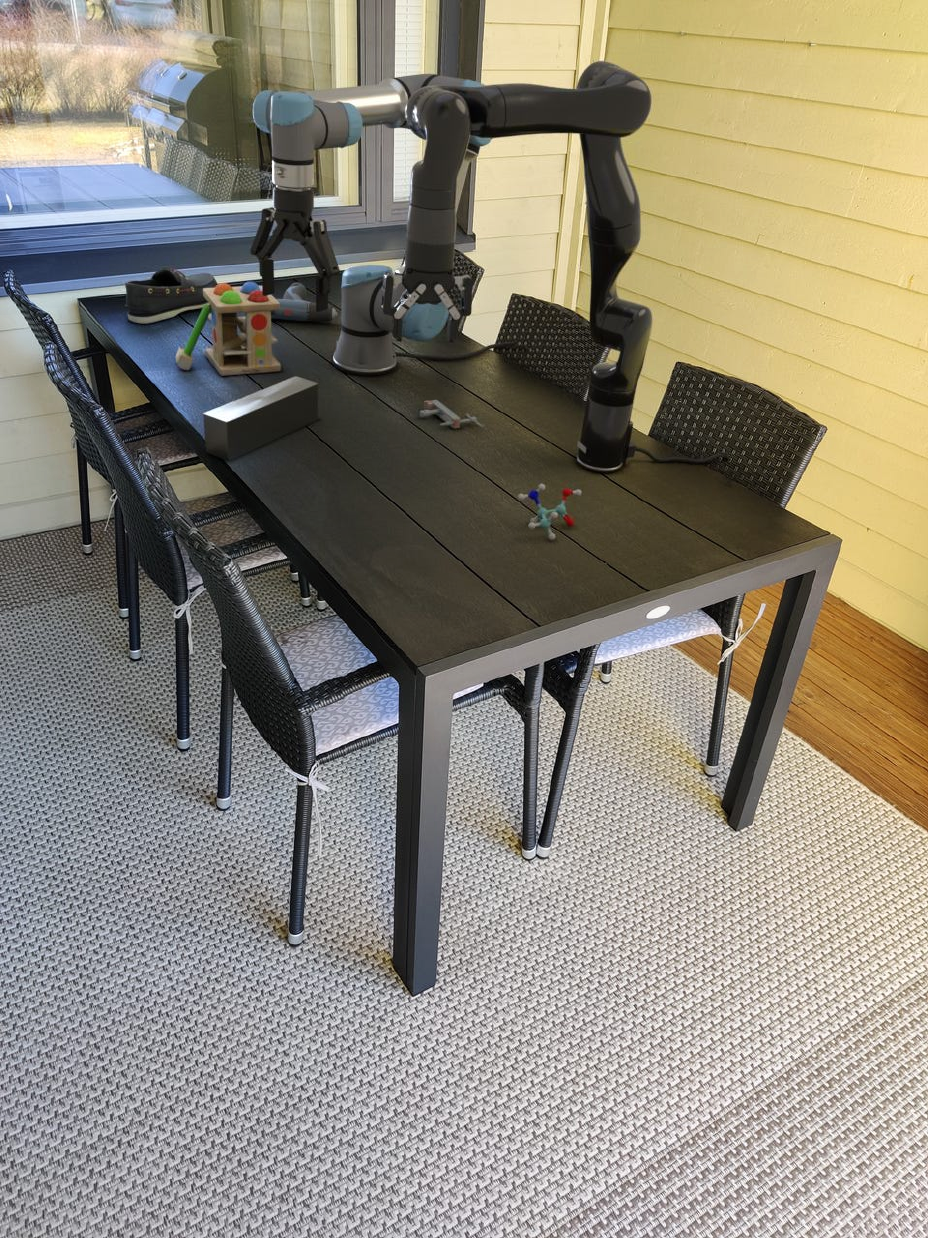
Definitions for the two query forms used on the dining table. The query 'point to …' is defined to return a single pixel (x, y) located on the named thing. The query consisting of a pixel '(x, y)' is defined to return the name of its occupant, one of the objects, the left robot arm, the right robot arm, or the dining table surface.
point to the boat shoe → (166, 295)
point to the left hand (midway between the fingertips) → (294, 302)
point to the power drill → (300, 307)
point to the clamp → (446, 414)
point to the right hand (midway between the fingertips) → (424, 340)
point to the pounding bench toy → (229, 347)
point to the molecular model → (554, 512)
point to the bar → (260, 418)
